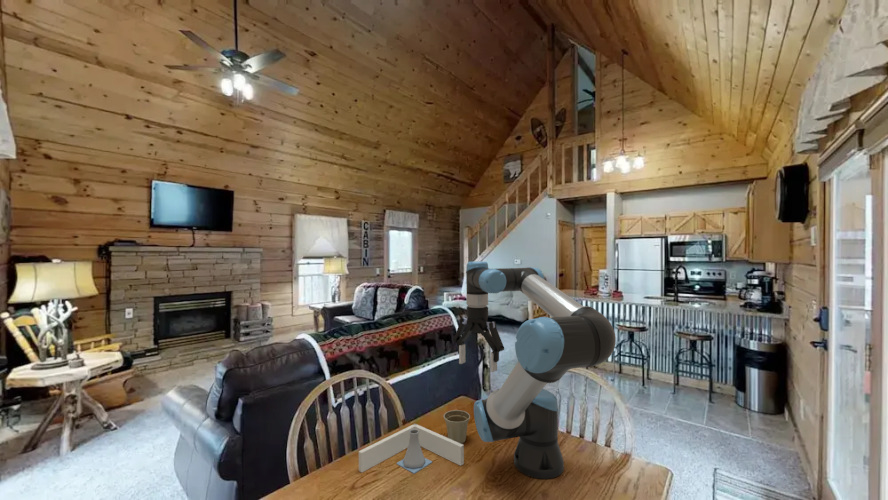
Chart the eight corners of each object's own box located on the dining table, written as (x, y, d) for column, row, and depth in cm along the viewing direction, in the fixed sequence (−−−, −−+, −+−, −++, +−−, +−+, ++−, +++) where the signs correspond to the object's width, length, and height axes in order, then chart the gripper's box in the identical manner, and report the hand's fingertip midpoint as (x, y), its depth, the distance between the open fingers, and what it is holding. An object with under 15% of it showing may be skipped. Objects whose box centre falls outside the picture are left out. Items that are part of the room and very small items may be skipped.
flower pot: (460, 450, 127) (460, 424, 127) (438, 441, 133) (438, 416, 133) (475, 438, 135) (475, 414, 135) (453, 430, 140) (453, 407, 140)
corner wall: (463, 463, 119) (463, 444, 119) (408, 502, 101) (407, 480, 101) (415, 440, 134) (414, 423, 134) (358, 470, 116) (358, 451, 116)
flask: (426, 456, 123) (426, 425, 123) (424, 469, 116) (424, 436, 116) (404, 456, 123) (404, 425, 123) (401, 469, 116) (401, 436, 116)
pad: (432, 462, 120) (432, 461, 120) (414, 473, 114) (414, 473, 114) (414, 453, 125) (414, 452, 125) (396, 463, 119) (396, 463, 119)
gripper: (514, 308, 126) (514, 371, 126) (456, 301, 142) (456, 357, 142) (502, 311, 120) (502, 377, 120) (443, 303, 136) (443, 362, 137)
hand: (477, 366), depth 131 cm, fingers open, 13 cm apart
